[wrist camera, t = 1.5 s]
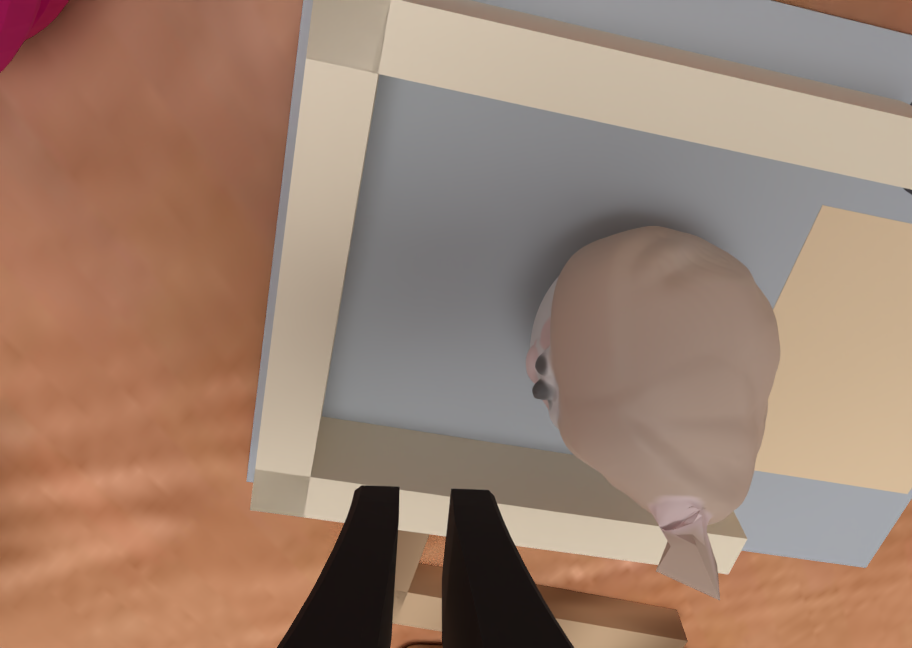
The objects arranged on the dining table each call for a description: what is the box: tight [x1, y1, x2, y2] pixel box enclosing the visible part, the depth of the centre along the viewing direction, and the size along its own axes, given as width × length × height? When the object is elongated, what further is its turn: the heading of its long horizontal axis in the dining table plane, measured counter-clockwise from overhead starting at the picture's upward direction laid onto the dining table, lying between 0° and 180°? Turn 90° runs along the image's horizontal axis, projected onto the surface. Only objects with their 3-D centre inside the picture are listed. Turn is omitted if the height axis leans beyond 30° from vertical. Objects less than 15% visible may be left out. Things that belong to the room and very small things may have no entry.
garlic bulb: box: [526, 226, 780, 600], centre depth 19 cm, size 7×6×8 cm
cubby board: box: [247, 0, 912, 574], centre depth 21 cm, size 22×17×3 cm
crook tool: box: [392, 530, 687, 648], centre depth 27 cm, size 12×4×2 cm, turn 74°
